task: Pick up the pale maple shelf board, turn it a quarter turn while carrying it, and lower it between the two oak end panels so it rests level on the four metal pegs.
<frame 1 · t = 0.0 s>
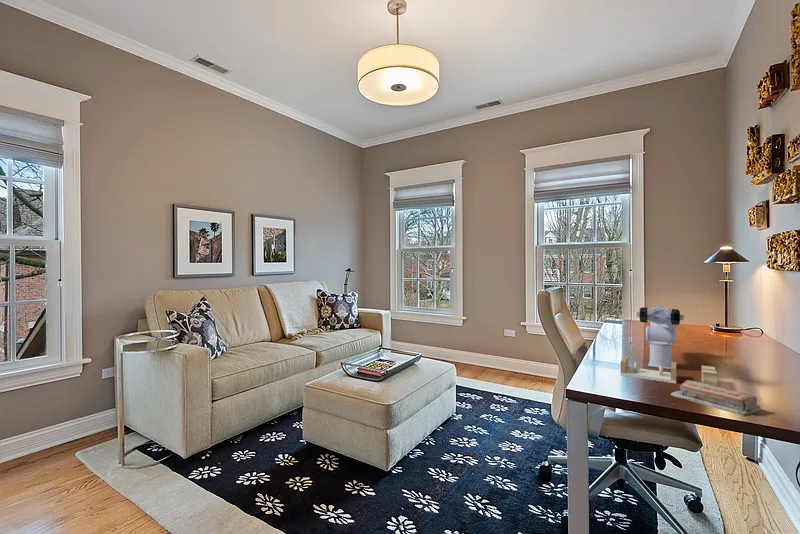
hand: (658, 316, 135), 22 cm above the table, tool horizontal, fingers open, 7 cm apart
shelf board: (709, 384, 127), on the table
shelf unit: (648, 375, 137), on the table
packaged product: (713, 404, 110), on the table
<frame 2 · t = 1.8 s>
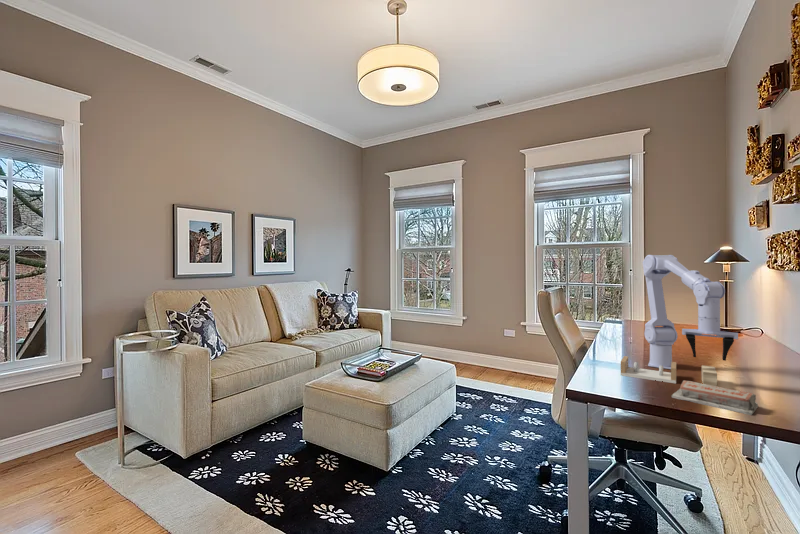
hand: (709, 358, 127), 9 cm above the table, tool pointing down, fingers open, 7 cm apart
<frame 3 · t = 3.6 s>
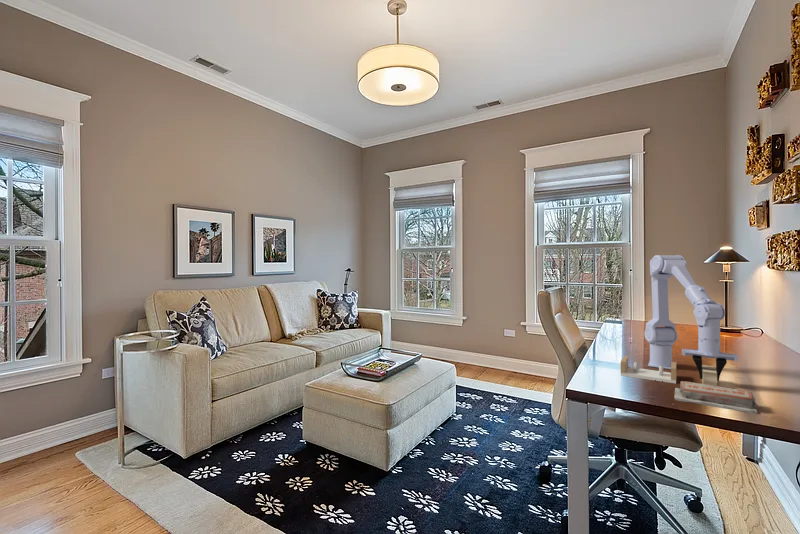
hand: (709, 379, 127), 1 cm above the table, tool pointing down, fingers closed on shelf board, 3 cm apart
shelf board: (709, 383, 127), on the table, touching gripper
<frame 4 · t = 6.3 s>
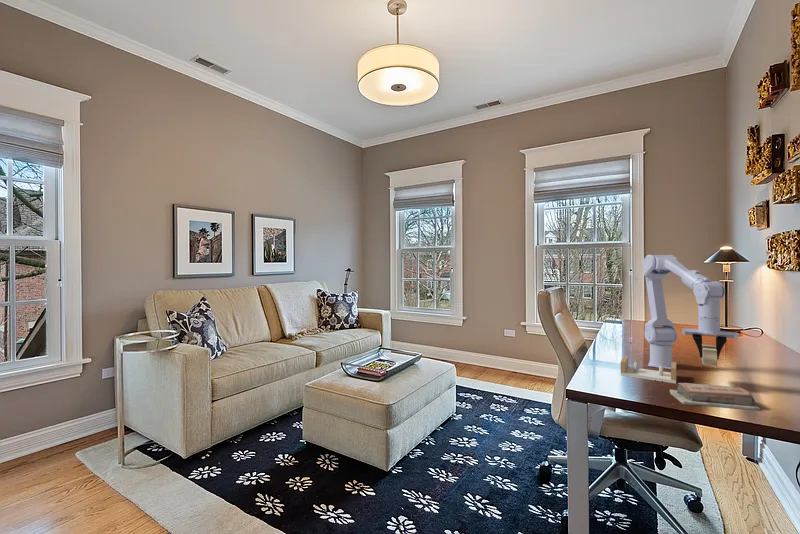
hand: (709, 358, 127), 9 cm above the table, tool pointing down, fingers closed on shelf board, 3 cm apart
shelf board: (709, 362, 127), point 7 cm above the table, touching gripper
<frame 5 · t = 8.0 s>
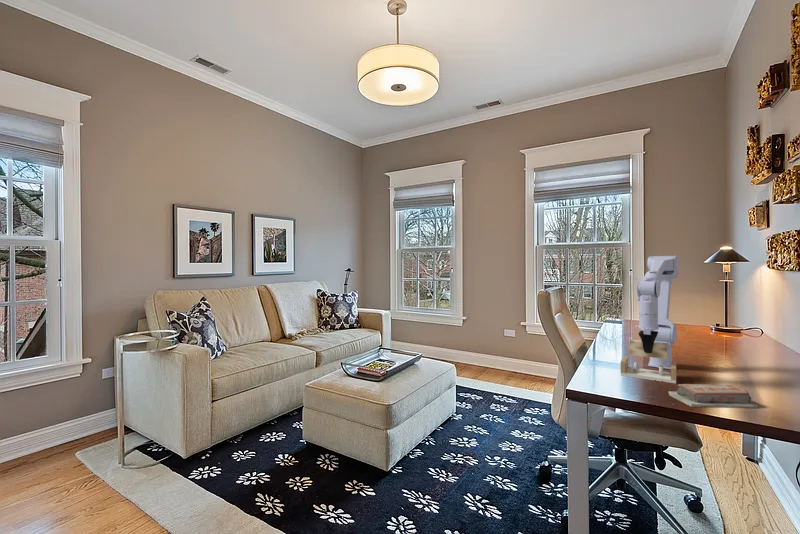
hand: (648, 351, 137), 9 cm above the table, tool pointing down, fingers closed on shelf board, 3 cm apart
shelf board: (648, 355, 137), point 7 cm above the table, touching gripper
when the fingers open (7 cm above the table, at t = 9.2 s): shelf board drops 1 cm, resting on shelf unit.
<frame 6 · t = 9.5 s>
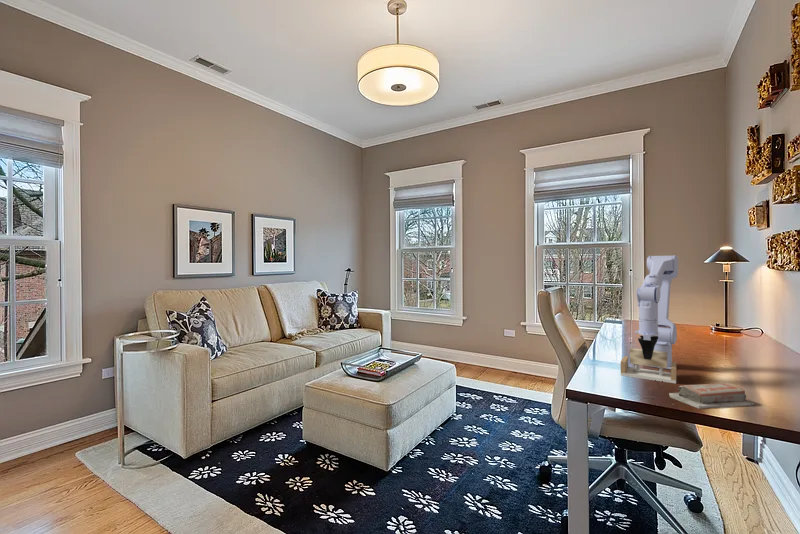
hand: (648, 357, 137), 7 cm above the table, tool pointing down, fingers open, 6 cm apart
shelf board: (648, 364, 137), point 4 cm above the table, touching shelf unit
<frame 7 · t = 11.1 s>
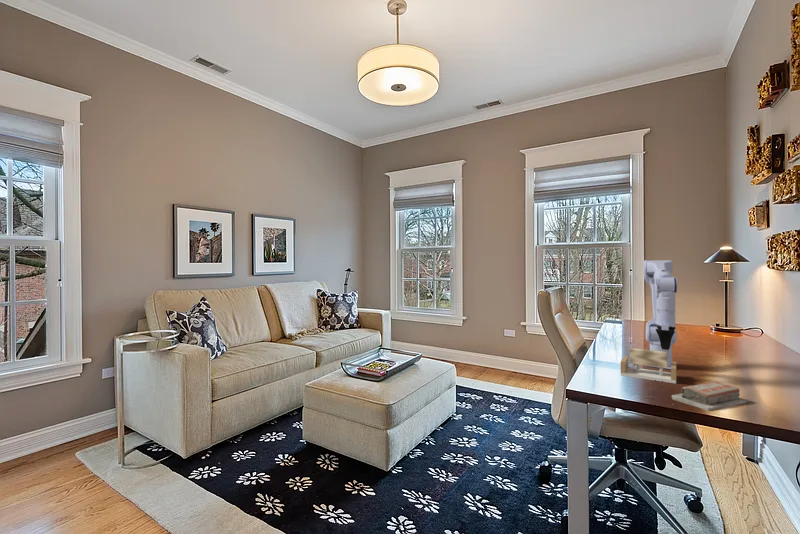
hand: (665, 347, 138), 10 cm above the table, tool pointing down, fingers open, 7 cm apart
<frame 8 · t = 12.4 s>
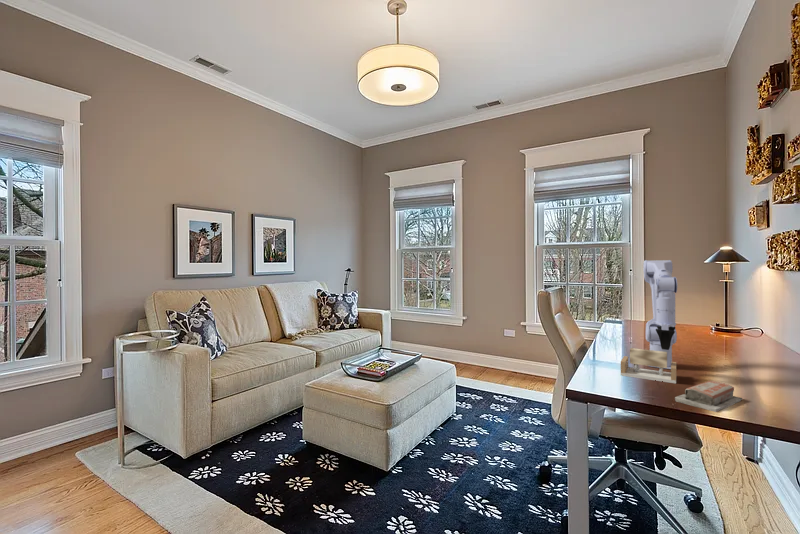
hand: (665, 347, 138), 10 cm above the table, tool pointing down, fingers open, 7 cm apart
at the end: shelf board 0.0 cm off-centre on the shelf unit, point 4.0 cm above the shelf unit's base; shelf board tilted 0°; the gripper is holding nothing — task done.
